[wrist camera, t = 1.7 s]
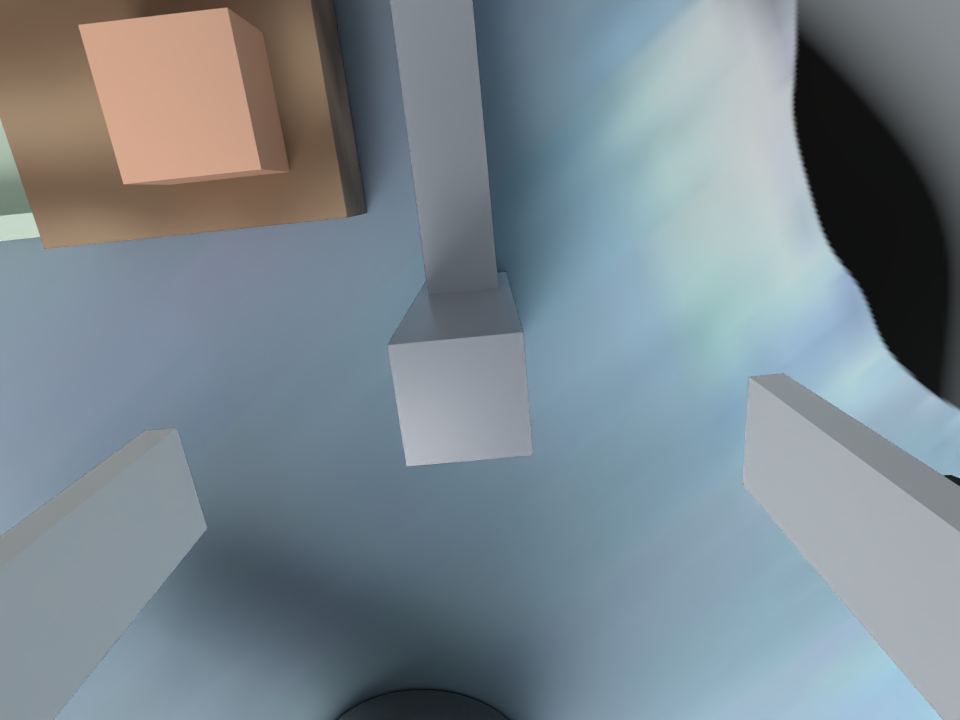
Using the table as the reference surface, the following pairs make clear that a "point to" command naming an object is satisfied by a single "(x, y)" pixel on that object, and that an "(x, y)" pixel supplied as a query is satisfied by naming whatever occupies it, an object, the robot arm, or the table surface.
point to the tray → (13, 198)
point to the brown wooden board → (178, 207)
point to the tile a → (186, 97)
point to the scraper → (454, 258)
